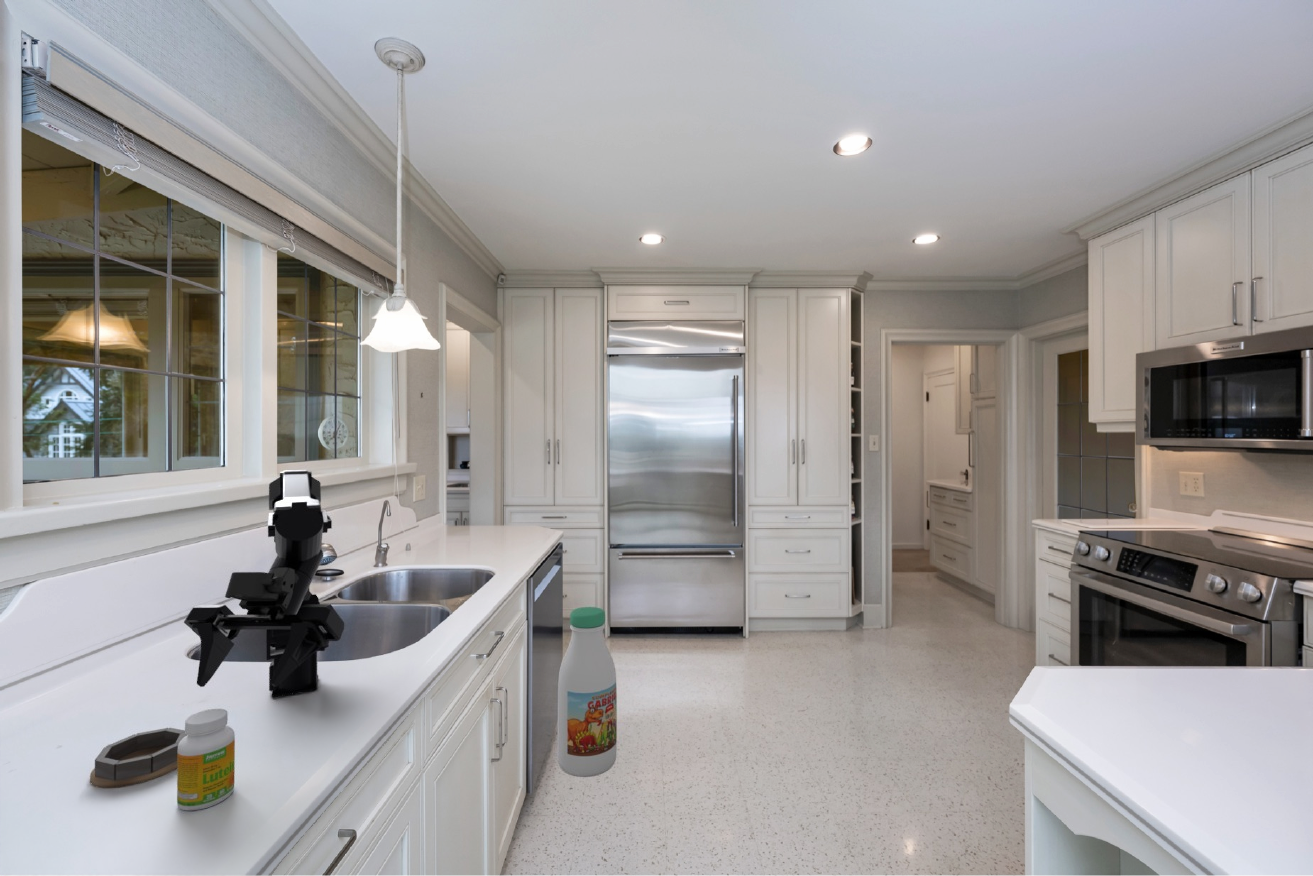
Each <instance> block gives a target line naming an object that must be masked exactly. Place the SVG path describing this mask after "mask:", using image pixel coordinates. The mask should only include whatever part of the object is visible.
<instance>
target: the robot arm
mask: <svg viewBox="0 0 1313 876" xmlns="http://www.w3.org/2000/svg"><path fill="white" fill-rule="evenodd" d="M321 485H322V484H321V481H319V480H317V479H316V478H314V477H313V473H312V471H311V470H310V471H309V470H308V469H298V470H297V469H296V470H294V469H293V470H289V469H288V470H285V469H284V470H283V471H280V472H279V477H278V478H276V479H274V480H273V481H271V482H270V483H269V484H268V510H269V511H273V512H269V513H268V521H267V537H268V538H272V537H274V538H273V542H274V544H275V548H274V549H275V553H276V556H275V557H276V558H275V559H274V560H273V562H272V565H271V566H270V569H269V570H268V572H264V571H237V572H236V571H235V572H234V571H233V572H232V573H231V574H230V575H231V576H230V577H229V578H230V579H229V581H228V582H229V583H228V585H227V589H226V592H225V595H224V598H226V599H236V600H240V601H239V604H238V605H239V607H240V608H241V609H242V610H246V611H247V612H246V614H235V613H234V612H233V611H232V610H231V609H230V608H229V607H228V606H227V605H226V604H199V605H196V606H194V607H192V609H190V611H189V613H187V616H186V617H185V620H184V621H183V623H184V624H185V626H187V627H189V628H190V630H192V632H193V633H194V634H196V635H197V636H198V637H199V638H200V655H199V664H198V670H197V671H198V672H197V678H196V685H197V686H199V687H200V688H204V687H205V686H206V685H207V684H208V682H209V681H210V680H212V678H213V676H215V673H216V672H217V671H218V669H219V668H220V666H221V664H222V663H223V662H224V660H225V659H226V657H227V656H228V655H229V653H230V652H231V651H232V649H233V647H234V646H235V643H234V642H233V641H232V640H234V639H235V638H237V637H238V635H239V634H240V631H241V630H243V631H244V630H249V631H250V630H266V633H265V634H266V637H265V638H266V661H270V660H272V661H271V662H270V663H269V668H268V669H269V670H268V685H269V686H268V691H269V692H271V699H272V698H273V699H275V698H280V697H287V696H292V695H297V694H303V693H309V692H313V691H317V690H318V686H319V674H318V652H325V650H326V649H327V648H329V644H330V642H338V641H339V640H340V639H341V637H342V634H343V633H344V630H345V622H344V620H343V619H342V617H341V616H340V614H338V612H337V611H336V609H335V608H334V607H333V605H332V604H328V603H327V604H326V603H325V604H323V603H322V604H321V602H320V600H319V596H318V595H317V594H316V593H315V594H313V593H312V592H311V591H310V587H311V584H312V582H313V579H314V577H315V576H316V573H317V570H318V568H319V566H320V564H321V563H322V560H323V557H324V552H323V549H322V543H323V534H326V533H328V530H329V529H333V528H332V526H333V522H332V518H331V517H330V516H329V515H328V513H327V510H326V509H322V505H321V501H322V492H321V491H322V490H321V489H322V488H321Z"/></svg>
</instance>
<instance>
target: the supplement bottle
mask: <svg viewBox="0 0 1313 876" xmlns="http://www.w3.org/2000/svg"><path fill="white" fill-rule="evenodd" d="M228 713H229V712H228V711H227V709H225V708H210V709H206V710H202V711H198V712H196V713H194V714H191V715H189V716H188V717H187V718H186V719H185V723H184V730H185V733H186V734H187V736H185V737H184V738H183V739H182V740H181V741H180V743H179V745H178V751H177V769H176V771H177V773H176V774H177V780H176V784H177V786H176V787H177V789H176V802H177V807H178V808H179V809H180V810H182V811H187V812H188V811H198V810H204V809H207V808H211V807H214V806H215V805H218V804H220V803H221V802H224V801H225V800H226V799H227V798H229V797H230V796H231V795H232V793H233V792H234V789H235V763H236V762H235V761H236V760H235V757H236V755H235V750H236V749H235V748H236V746H235V743H236V742H235V741H236V740H235V739H236V737H235V736H236V734H235V730H234V729H233V728H232V727H231V726H228V719H229V718H228V715H229V714H228Z"/></svg>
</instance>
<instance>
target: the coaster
mask: <svg viewBox="0 0 1313 876" xmlns="http://www.w3.org/2000/svg"><path fill="white" fill-rule="evenodd" d="M185 736H187V734H186V733H185V729H178V728H174V727H165V728H159V729H154V730H149V731H143V732H138V733H136V734H135V733H134V734H131V735H130V736H126V737H125V738H121V739H120V740H118V741H115V742H113V743H111V744H108V745H106V746H105V747H103V748H102V749H101V751H100V753H99V754H98V755H97V757H96V758H94V768H93V769H92V771H91V772H90V774H89V783H90V784H91V785H93V786H94V787H97V788H103V789H112V788H114V789H115V788H123V787H124V788H125V787H128V786H134V785H137V784H142V783H145V782H147V781H151V780H154V779H157V778H159V777H162V776H165V775H167V774H169V773H171V772H172V771H175V770H177V751H178V745H179V743H180V741H181V740H182V739H183V738H184V737H185Z"/></svg>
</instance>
